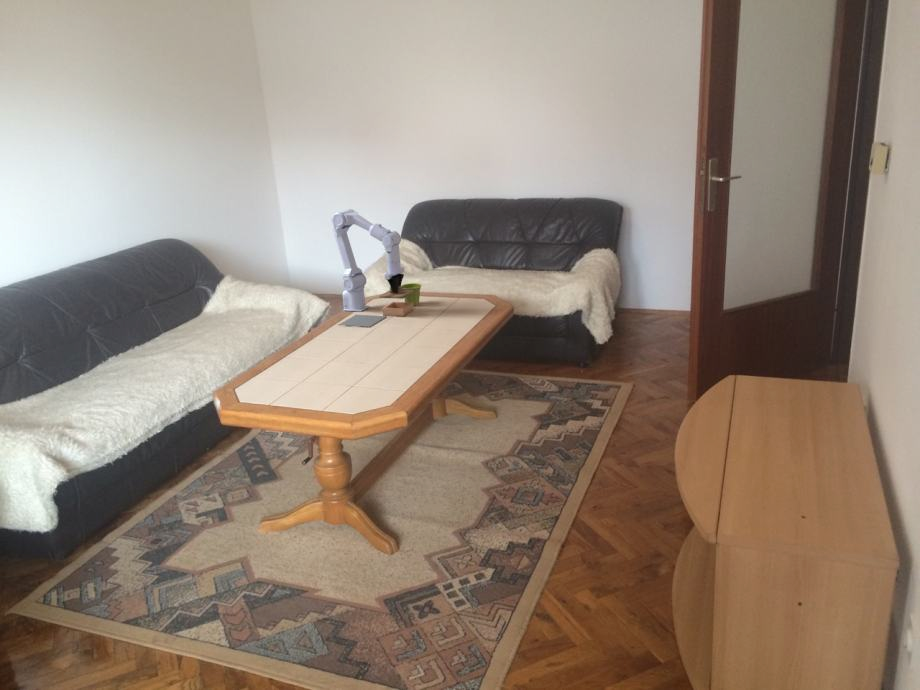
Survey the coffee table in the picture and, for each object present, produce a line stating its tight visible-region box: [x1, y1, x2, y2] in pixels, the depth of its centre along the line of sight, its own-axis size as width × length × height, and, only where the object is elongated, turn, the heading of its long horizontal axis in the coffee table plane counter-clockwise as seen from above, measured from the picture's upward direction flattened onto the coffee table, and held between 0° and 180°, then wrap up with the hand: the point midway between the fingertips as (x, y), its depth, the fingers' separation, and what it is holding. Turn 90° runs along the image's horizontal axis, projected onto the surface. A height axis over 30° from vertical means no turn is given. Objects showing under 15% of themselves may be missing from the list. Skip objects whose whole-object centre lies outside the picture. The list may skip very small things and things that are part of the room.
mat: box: [338, 314, 388, 328], centre depth 318 cm, size 15×15×1 cm
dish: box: [382, 301, 415, 318], centre depth 326 cm, size 10×10×4 cm
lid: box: [379, 285, 414, 300], centre depth 323 cm, size 11×11×4 cm
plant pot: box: [401, 282, 422, 306], centre depth 337 cm, size 9×9×9 cm
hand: (396, 291), depth 324 cm, fingers closed on lid, 2 cm apart
